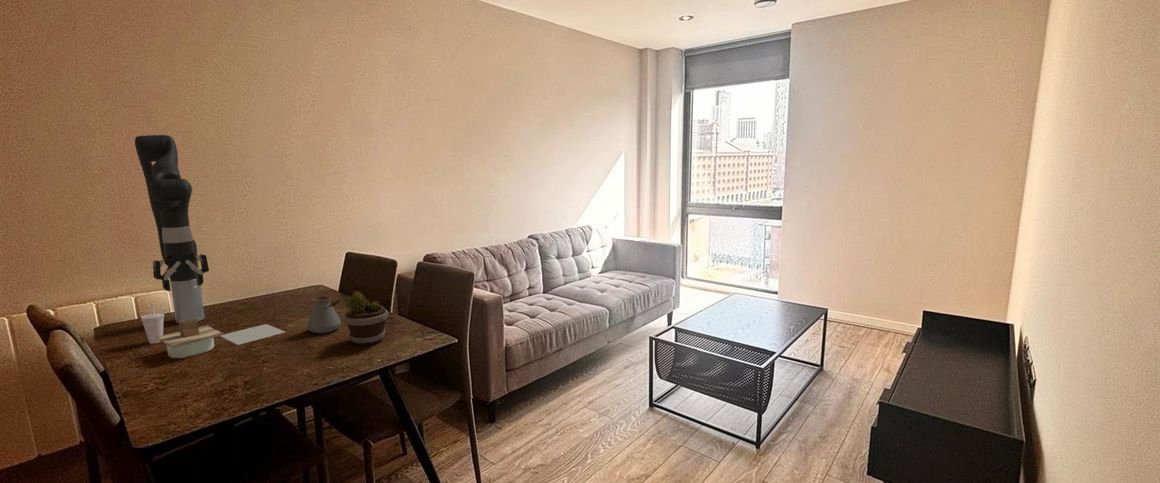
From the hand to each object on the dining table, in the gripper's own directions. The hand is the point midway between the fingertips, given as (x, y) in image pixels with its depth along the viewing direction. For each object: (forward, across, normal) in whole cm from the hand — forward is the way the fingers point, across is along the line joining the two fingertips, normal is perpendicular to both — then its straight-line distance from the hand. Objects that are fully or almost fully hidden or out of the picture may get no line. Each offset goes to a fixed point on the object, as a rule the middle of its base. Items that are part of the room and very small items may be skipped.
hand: (184, 288), depth 164 cm
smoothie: (+22, +4, -21) cm, 31 cm away
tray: (+22, -19, 0) cm, 29 cm away
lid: (+17, 0, 0) cm, 17 cm away
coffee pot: (+22, -36, +22) cm, 48 cm away
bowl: (+22, 0, 0) cm, 22 cm away
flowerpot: (+22, -40, +40) cm, 61 cm away
